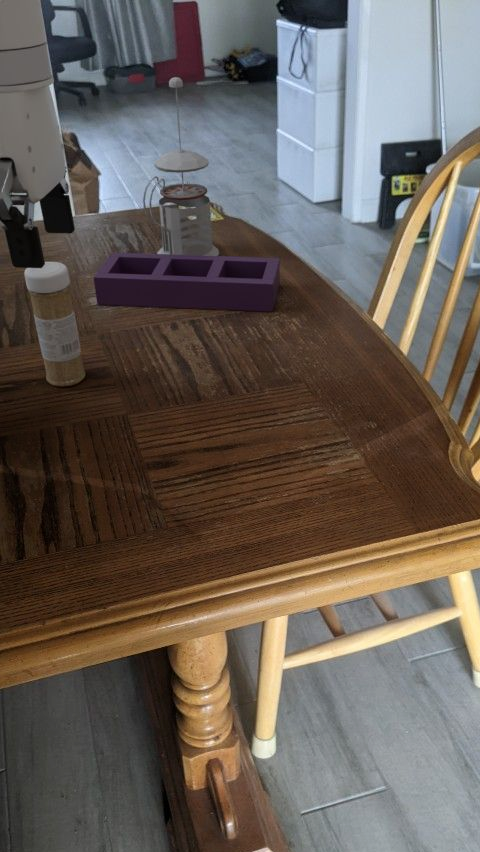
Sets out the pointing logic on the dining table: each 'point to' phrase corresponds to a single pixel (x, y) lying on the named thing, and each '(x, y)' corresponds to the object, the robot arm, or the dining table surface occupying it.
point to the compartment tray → (188, 281)
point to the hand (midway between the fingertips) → (45, 248)
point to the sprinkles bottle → (55, 323)
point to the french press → (183, 202)
